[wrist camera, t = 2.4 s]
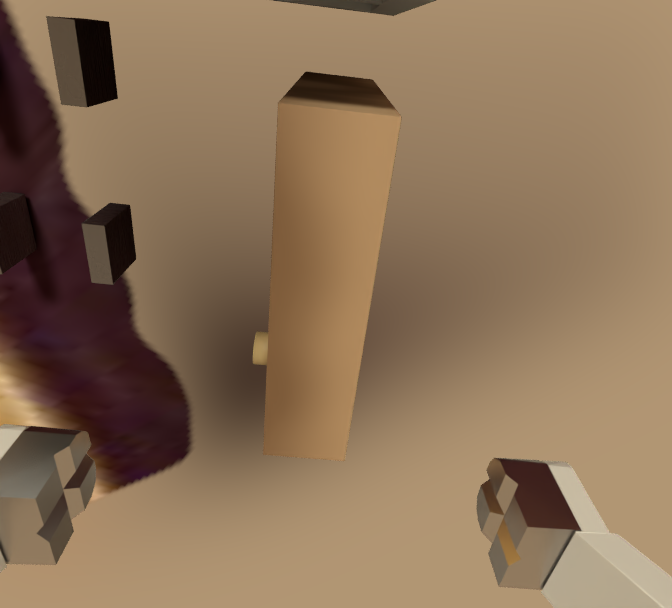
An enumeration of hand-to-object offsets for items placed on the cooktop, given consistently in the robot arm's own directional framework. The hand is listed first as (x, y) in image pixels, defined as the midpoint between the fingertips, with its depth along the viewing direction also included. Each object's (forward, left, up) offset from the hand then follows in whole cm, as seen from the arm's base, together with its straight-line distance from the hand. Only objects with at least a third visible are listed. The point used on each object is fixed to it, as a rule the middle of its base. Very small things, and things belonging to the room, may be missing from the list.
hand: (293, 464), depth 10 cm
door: (0, 0, -16) cm, 16 cm away
